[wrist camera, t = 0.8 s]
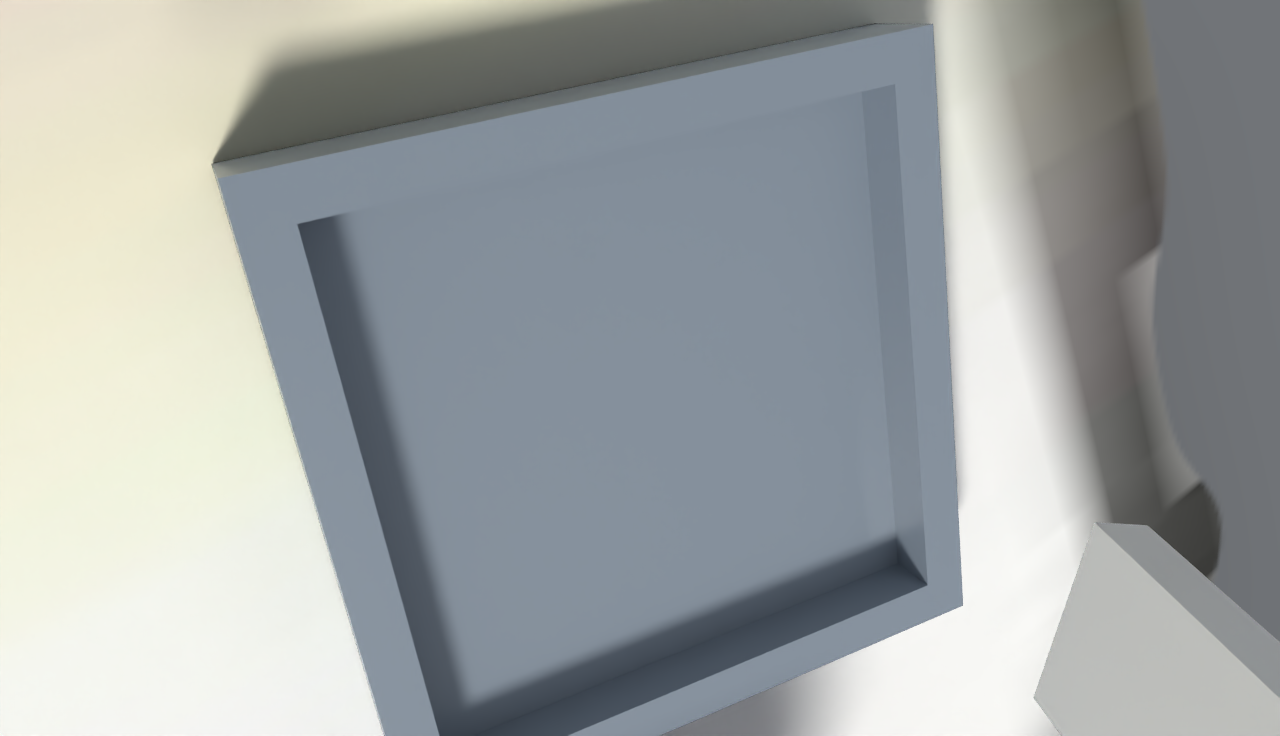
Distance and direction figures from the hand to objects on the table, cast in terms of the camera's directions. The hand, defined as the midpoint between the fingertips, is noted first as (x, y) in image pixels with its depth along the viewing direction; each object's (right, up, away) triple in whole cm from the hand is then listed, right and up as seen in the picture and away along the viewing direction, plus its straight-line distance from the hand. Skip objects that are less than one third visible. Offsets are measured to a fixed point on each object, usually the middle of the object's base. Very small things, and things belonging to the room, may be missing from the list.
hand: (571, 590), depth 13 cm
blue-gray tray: (+1, +2, +11) cm, 11 cm away
